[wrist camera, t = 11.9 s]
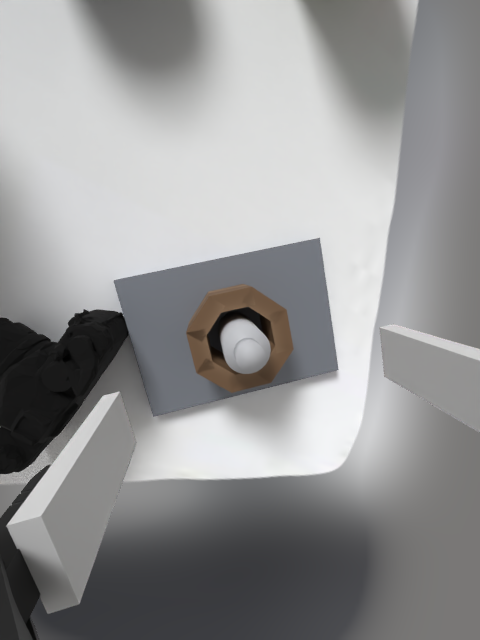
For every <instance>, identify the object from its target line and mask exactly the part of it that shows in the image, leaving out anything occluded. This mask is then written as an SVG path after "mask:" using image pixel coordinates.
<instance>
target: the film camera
mask: <svg viewBox="0 0 480 640" xmlns="http://www.w3.org/2000/svg"><path fill="white" fill-rule="evenodd" d="M68 325H69V328H67V330H66V332H65V334H64V335H63V336H62V338H61V339H60V341H59V342H58V343H57V342H51V341H50V339H49V338H47V337H46V336H44V335H42V334H39V335H38V334H37V333H36V332H35V331H33V330H31V329H30V328H28V327H27V326H25V325H23V324H21V323H13V322H11V321H9V320H8V319H7V318H0V426H1V427H0V474H9V473H12V472H20V471H22V470H24V469H25V468H26V467H28V466H29V465H30V464H32V463H33V462H34V461H35V460H36V458H37V457H38V456H39V454H40V453H41V452H42V451H43V450H44V449H45V448H46V447H47V445H48V444H49V443H50V442H51V441H52V440H53V439H54V438H55V437H56V436H58V435H59V434H60V432H61V431H62V430H63V429H64V428H65V426H66V425H67V423H68V422H69V421H70V420H71V419H72V417H73V416H74V414H75V413H76V412H77V410H78V409H79V408H80V406H81V404H82V403H83V401H84V399H85V398H86V397H87V396H88V394H89V393H90V391H91V389H92V388H93V387H94V386H95V384H96V383H97V381H98V380H99V378H100V376H101V375H102V374H103V372H104V371H105V370H106V368H107V367H108V365H109V364H110V363H111V361H112V360H113V358H114V357H115V355H116V354H117V352H118V350H119V348H120V347H121V345H122V344H123V342H124V341H125V339H126V338H127V336H128V335H129V331H128V328H127V325H126V321H125V318H124V316H123V314H122V313H121V312H120V313H118V312H115V311H106V310H93V311H90V312H89V311H87V310H84V312H83V313H75V317H73V318H72V319H71V320H70V321H69V322H68Z"/></svg>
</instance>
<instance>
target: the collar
mask: <svg viewBox="0 0 480 640" xmlns="http://www.w3.org/2000/svg"><path fill="white" fill-rule="evenodd" d="M244 307H250V308H251V309H253V310H254V311H256V312H257V313H259V316H260V321H261V326H262V331H263V334H264V335H265V336H266V337H267V339H268V341H269V343H270V348H271V352H270V357H269V360H268V362H267V363H266V365H265V366H264V367H263V368H262V369H260V370H259V371H257V372H254V373H251V374H242V373H238V372H236V371H234V370H233V369H231V368H230V367H229V366H228V364H227V363H226V360H225V357H224V353H222V352H221V351H219V350H217V349H215V348H214V347H212V346H211V344H210V340H209V336H208V332H209V331H210V329H211V328H212V326H213V325H214V323H215V321H216V320H217V318H218V317H219V315H220V314H221V313H222V312H227V311H231V310H235V309H240V308H244ZM186 335H187V339H188V343H189V347H190V351H191V354H192V358H193V362H194V366H195V370H196V373H197V374H199V375H200V376H202V377H204V378H206V379H208V380H209V381H211V382H213V383H215V384H217V385H218V386H220V387H222V388H224V389H226V390H227V391H229V392H231V393H233V392H237V391H241V390H245V389H249V388H253V387H257V386H261V385H265V384H269V383H271V382H272V381H273V379H274V378H275V376H276V375H277V373H278V372H279V370H280V369H281V367H282V366H283V364H284V363H285V361H286V360H287V358H288V357H289V356H290V354H291V353H292V351H293V350H294V348H293V342H292V337H291V331H290V326H289V320H288V314H287V309H285V308H284V307H282V306H280V305H279V304H277V303H276V302H274V301H273V300H271V299H270V298H268V297H267V296H265V295H264V294H262V293H261V292H259V291H258V290H256V289H255V288H253V287H251V286H248V285H245V284H240V285H236V286H231V287H227V288H222V289H218V290H213V291H209V292H208V293H207V294H206V296H205V297H204V299H203V301H202V302H201V304H200V305H199V307H198V309H197V310H196V312H195V313H194V315H193V317H192V318H191V320H190V321H189V324H188V328H187V331H186Z"/></svg>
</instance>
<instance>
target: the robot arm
mask: <svg viewBox="0 0 480 640" xmlns="http://www.w3.org/2000/svg"><path fill="white" fill-rule="evenodd" d="M380 337H381V348H382V358H383V368H384V377H386V378H388V379H389V380H391V381H393V382H394V383H396V384H398V385H399V386H401V387H403V388H405V389H406V390H408V391H410V392H411V393H413V394H415V395H416V396H418V397H420V398H422V399H423V400H425V401H427V402H429V403H430V404H432V405H433V406H435V407H437V408H439V409H440V410H442V411H444V412H445V413H447V414H449V415H450V416H452V417H454V418H456V419H457V420H459V421H461V422H462V423H464V424H466V425H467V426H469V427H471V428H472V429H474V430H476V431H478V432H479V433H480V349H477V348H473V347H470V346H467V345H463V344H460V343H456V342H453V341H449V340H446V339H442V338H439V337H436V336H432V335H429V334H425V333H422V332H419V331H415V330H412V329H408V328H405V327H401V326H398V325H395V324H391V325H387V326H383V327H380ZM135 445H136V440H135V437H134V433H133V430H132V427H131V424H130V421H129V418H128V415H127V412H126V409H125V405H124V402H123V399H122V396H121V393H120V392H116V393H112V394H107V395H103V396H102V398H101V399H100V401H99V402H98V403H97V405H96V406H95V407H94V409H93V410H92V411H91V413H90V414H89V415H88V417H87V418H86V419H85V421H84V422H83V423H82V425H81V426H80V427H79V429H78V430H77V431H76V433H75V434H74V435H73V437H72V438H71V439H70V441H69V442H68V444H67V445H66V446H65V448H64V449H63V450H62V452H61V453H60V454H59V456H58V457H57V458H56V460H55V461H54V462H53V464H52V465H48V466H46V467H45V468H43V469H42V470H41V471H40V472H39V473H38V474H36V475H35V476H34V477H33V478H32V479H31V480H30V481H29V482H28V484H27V485H26V486H25V488H24V489H23V490H22V491H21V494H19V495H18V496H17V498H16V499H15V500H14V501H13V503H12V506H9V508H8V509H7V510H6V512H5V513H4V514H3V515H2V517H1V518H0V640H39V638H38V634H37V631H36V628H35V625H34V623H33V621H32V619H31V617H30V615H31V613H32V611H33V609H34V607H35V605H36V603H37V600H38V599H39V597H40V599H41V601H42V603H43V605H44V607H45V609H46V611H47V613H48V614H50V613H53V612H56V611H59V610H62V609H65V608H68V607H71V606H75V605H78V604H79V603H80V601H81V598H82V595H83V592H84V589H85V587H86V584H87V581H88V578H89V575H90V572H91V569H92V567H93V564H94V561H95V558H96V555H97V553H98V550H99V547H100V544H101V541H102V538H103V536H104V533H105V530H106V527H107V524H108V522H109V519H110V516H111V513H112V510H113V508H114V505H115V502H116V499H117V496H118V493H119V491H120V488H121V485H122V482H123V479H124V476H125V474H126V471H127V468H128V465H129V462H130V460H131V457H132V454H133V451H134V448H135Z"/></svg>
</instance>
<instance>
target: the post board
mask: <svg viewBox="0 0 480 640" xmlns="http://www.w3.org/2000/svg"><path fill="white" fill-rule="evenodd" d="M114 284H115V287H116V291H117V294H118V297H119V301H120V304H121V308H122V311H123V314H124V318H125V321H126V325H127V328H128V331H129V335H130V338H131V342H132V345H133V349H134V352H135V355H136V359H137V362H138V366H139V369H140V372H141V376H142V379H143V383H144V386H145V389H146V393H147V396H148V400H149V403H150V406H151V410H152V413H153V417H154V416H158V415H162V414H166V413H169V412H173V411H177V410H181V409H185V408H189V407H193V406H197V405H201V404H205V403H209V402H213V401H217V400H221V399H225V398H229V397H233V396H237V395H241V394H245V393H249V392H253V391H257V390H261V389H265V388H269V387H273V386H276V385H280V384H284V383H288V382H292V381H296V380H300V379H304V378H308V377H312V376H316V375H320V374H324V373H328V372H332V371H336V370H338V364H337V357H336V350H335V343H334V336H333V329H332V321H331V314H330V307H329V300H328V293H327V286H326V279H325V272H324V265H323V258H322V251H321V244H320V238H317V239H312V240H307V241H303V242H298V243H293V244H288V245H283V246H278V247H273V248H269V249H264V250H259V251H254V252H249V253H244V254H240V255H235V256H230V257H225V258H220V259H215V260H210V261H206V262H201V263H196V264H191V265H186V266H181V267H176V268H172V269H167V270H162V271H157V272H152V273H147V274H142V275H138V276H133V277H128V278H123V279H118V280H114ZM240 284H245V285H248V286H251V287H253V288H255V289H256V290H258V291H259V292H261V293H262V294H264V295H265V296H267V297H268V298H270V299H271V300H273V301H274V302H276V303H277V304H279V305H280V306H282V307H284V308H285V309H287V314H288V320H289V326H290V331H291V337H292V342H293V348H294V350H293V351H292V353H291V354H290V356H289V357H288V358H287V360H286V361H285V363H284V364H283V366H282V367H281V369H280V370H279V372H278V373H277V375H276V376H275V378H274V379H273V381H272V382H271V383H269V384H265V385H261V386H257V387H253V388H249V389H245V390H241V391H237V392H233V393H231V392H229V391H227V390H226V389H224V388H222V387H220V386H218V385H217V384H215V383H213V382H211V381H209V380H208V379H206V378H204V377H202V376H200V375H199V374H197V373H196V370H195V366H194V362H193V358H192V354H191V351H190V347H189V343H188V339H187V335H186V331H187V328H188V324H189V321H190V320H191V318H192V317H193V315H194V313H195V312H196V310H197V309H198V307H199V305H200V304H201V302H202V301H203V299H204V297H205V296H206V294H207V293H208V292H209V291H213V290H218V289H222V288H227V287H231V286H236V285H240ZM208 336H209V340H210V344H211V346H212V347H214V348H215V349H217V350H219V351H221V352H222V353H224V357H225V360H226V363H227V364H228V366H229V367H230V368H231V369H233V370H234V371H236V372H238V373H242V374H251V373H254V372H257V371H259V370H260V369H262V368H263V367H264V366H265V365H266V363H267V362H268V360H269V357H270V352H271V348H270V343H269V341H268V339H267V337H266V336H265V335H264V334H263V331H262V326H261V321H260V316H259V313H257V312H256V311H254V310H253V309H251V308H250V307H244V308H240V309H235V310H231V311H227V312H222V313H221V314H220V315H219V317H218V318H217V320H216V321H215V323H214V325H213V326H212V328H211V329H210V331H209V332H208Z"/></svg>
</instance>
